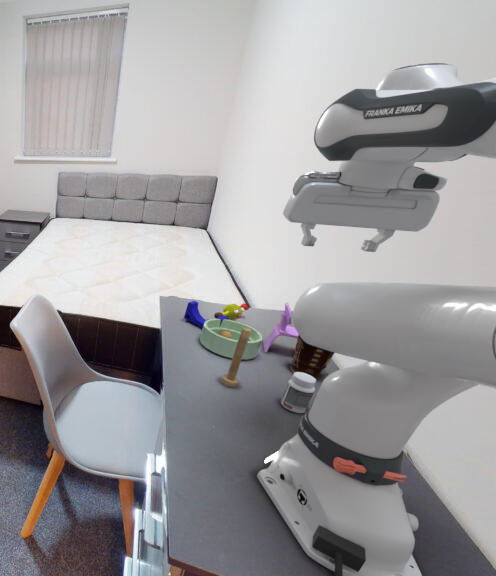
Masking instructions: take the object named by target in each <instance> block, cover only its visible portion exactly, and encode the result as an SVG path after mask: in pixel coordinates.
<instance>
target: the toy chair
mask: <svg viewBox="0 0 496 576" xmlns="http://www.w3.org/2000/svg"><path fill="white" fill-rule="evenodd" d="M292 319H293V312H292V310H291V307H290V305H289V302H285V303H284V310H282V311H281V315H280V321H279V322H278V323H276V325H275V326H274V327H273V329H272V331H271V333H269V336H268V337H267V338H266V339H265V341H264V342H263V350H264V353H267V352H268V350H269V349H270V347H271V345H272V344H273V343H274V341H275V340H276V339H277V338H278V337H281V336H283V337H288V338H294V339H297V340H298V333H297V331H296V328H295V326H291V325H292Z"/></svg>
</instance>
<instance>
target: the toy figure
mask: <svg viewBox="0 0 496 576" xmlns="http://www.w3.org/2000/svg"><path fill="white" fill-rule="evenodd" d="M249 309H250V305H249V304H248V303H246V302H245V303H241V304H240V305H238V304H236V303H229V304H226V305H225V306H224V307H223V310H222V312H221V311H217V312H215V313H214V314H213V316H214V319H217V317H220V316H223V315H224V316H226V317H228V320H232V321H233V320H236V319H240V318H242V314H243V312H245V311H248V310H249Z"/></svg>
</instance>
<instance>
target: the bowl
mask: <svg viewBox="0 0 496 576" xmlns="http://www.w3.org/2000/svg"><path fill="white" fill-rule="evenodd" d="M206 320H207V321H205V323H204V325H203V328H202V329H201V332H200V336H199V341H200V343H201V345H202V346H203V347H204V348H206V349H207V350H209V351H210V352H213V353H214V354H217V355H219V356H222V357H225V358H228V359H232V358H233V355H234V352H235V349H236V346H237V343H238V340H239V337H240V334H241V331H242V328H249V329H251V333H250V336H249V339H248V342H247V345H246V348H245V351H244V354H243V356H242V359H241V360H252V359H254V358H256V357H257V356H258V353H259V350H260V348H261V345H262V342H263V338H264V337H263V335H262V333H261V332H260V331H259V330H257V328H254V327H252V326H250V325H248V324H245V323H243V322H239V321H236V320H233V319H232V320H230V319H229V320H227V319H224V320H223V321H222V323H221V325H220V322H221V320H220V319H216V318H210V319H206ZM219 326H220V327H219ZM223 331H228V332H230V333H231V335H232V338H231V339H229V338H226V337H223V336H221V335H220V334H221V332H223Z"/></svg>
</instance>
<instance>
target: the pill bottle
mask: <svg viewBox="0 0 496 576" xmlns="http://www.w3.org/2000/svg"><path fill="white" fill-rule="evenodd" d="M316 383H317V379H315V378H314V377H312V376H311V375H308V374H306V373H302V372H295V373H294V372H293V374H292V376H291V378H290V379H289V380H288V382H287V384H286V387H285V390H284V392H283V394H282V397H281V400H280V404H281V406H282V407H283V408H285V409H286V410H288V411H291V412H293V413H297V414H305V413H306V411H308V407H309V406H310V403H311V401H312V398H313V396H314V394H315V391H316V387H315V385H316Z"/></svg>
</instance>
